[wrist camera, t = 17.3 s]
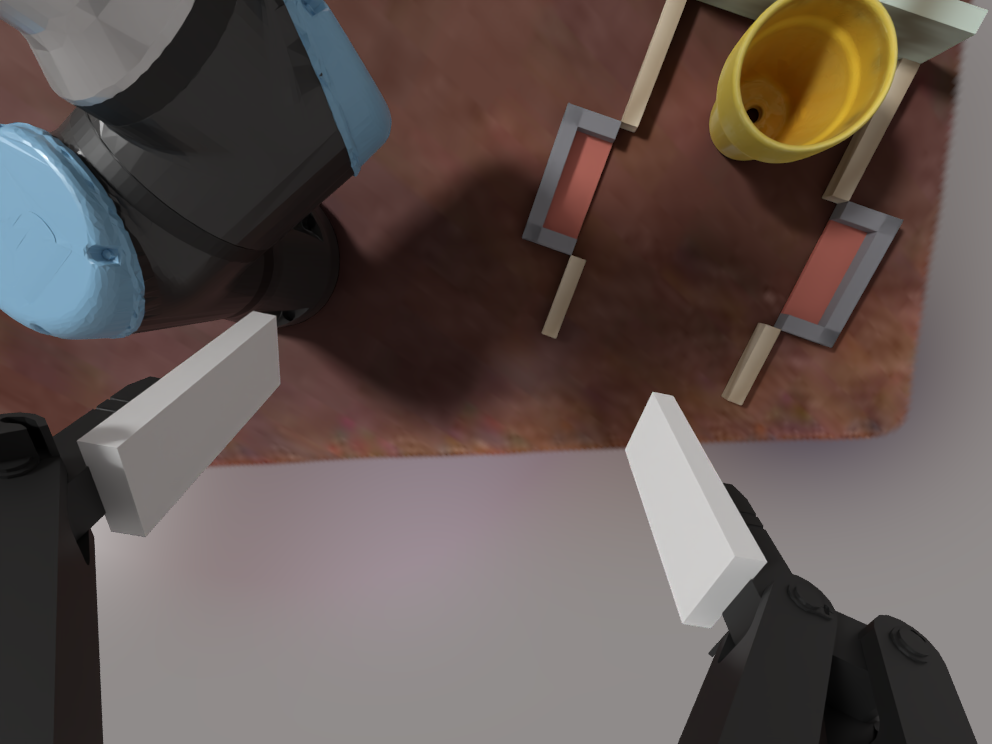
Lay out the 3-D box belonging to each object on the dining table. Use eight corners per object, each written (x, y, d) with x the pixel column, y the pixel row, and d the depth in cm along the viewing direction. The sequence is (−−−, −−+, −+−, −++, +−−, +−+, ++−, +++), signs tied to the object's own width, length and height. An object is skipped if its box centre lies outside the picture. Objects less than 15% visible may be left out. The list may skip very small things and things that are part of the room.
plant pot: (735, 27, 37) (804, -57, 27) (836, 92, 37) (938, 31, 28) (663, 144, 39) (702, 104, 30) (757, 203, 40) (826, 182, 30)
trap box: (541, 331, 44) (541, 340, 39) (677, -30, 36) (703, -87, 30) (734, 401, 44) (764, 420, 38) (915, 52, 36) (988, 10, 30)
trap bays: (522, 238, 42) (521, 237, 41) (567, 109, 39) (568, 102, 38) (821, 345, 42) (831, 347, 40) (889, 222, 39) (903, 220, 37)
